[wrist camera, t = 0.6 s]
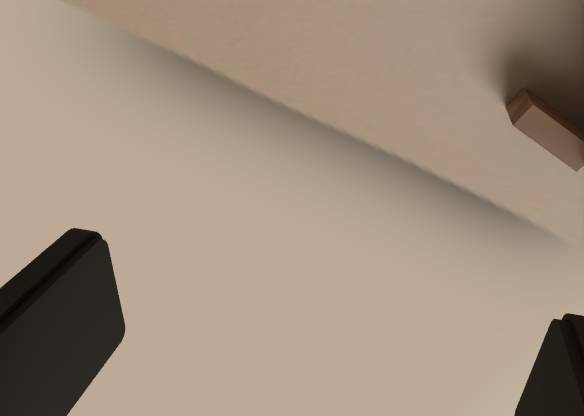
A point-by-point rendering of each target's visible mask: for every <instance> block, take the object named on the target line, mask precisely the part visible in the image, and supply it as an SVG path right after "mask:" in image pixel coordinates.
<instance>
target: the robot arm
mask: <svg viewBox="0 0 584 416" xmlns="http://www.w3.org/2000/svg"><path fill="white" fill-rule="evenodd" d="M124 333H125V323H124V318H123V314H122V309H121V304H120V300H119V295H118V290H117V285H116V281H115V276H114V272H113V266H112V262H111V257H110V252H109V248H108V244H107V242H106V241H105V240H103V239H102V236H101V235H100V234H99V233H97V232H94V231H89V230H82V229H77V228H73V229H70V230H68V231H67V232H66V233H65V234H63V235H62V236H61V237H60V238H59V239H57V240H56V241H55V242H54V243H53V244H52V245H51V246H49V247H48V248H47V249H46V250H45V251H43V252H42V253H41V254H40V255H39V256H38V257H36V258H35V259H34V260H33V261H32V262H31V263H29V264H28V265H27V266H26V267H25V268H24V269H22V270H21V271H20V272H19V273H18V274H16V275H15V276H14V277H13V278H12V279H11V280H9V281H8V282H7V283H6V284H5V285H4V286H2V287H1V288H0V416H67V414H68V413H69V412H70V410H71V409H72V408H73V406H74V405H75V404H76V402H77V401H78V400H79V398H80V397H81V396H82V394H83V393H84V391H85V390H86V389H87V387H88V386H89V385H90V383H91V382H92V381H93V379H94V378H95V377H96V375H97V374H98V372H99V371H100V370H101V368H102V367H103V366H104V364H105V363H106V362H107V360H108V359H109V358H110V356H111V355H112V354H113V352H114V351H115V350H116V348H117V347H118V345H119V344H120V343H121V341H122V339H123V337H124ZM515 416H584V316H581V315H575V314H565V315H564V316H563V318H562V320H558V319H553V320H552V322H551V324H550V326H549V328H548V331H547V333H546V336H545V338H544V341H543V343H542V346H541V348H540V351H539V353H538V356H537V358H536V361H535V363H534V366H533V368H532V371H531V373H530V375H529V378H528V380H527V383H526V386H525V388H524V391H523V393H522V395H521V398H520V401H519V403H518V405H517V408H516V411H515Z"/></svg>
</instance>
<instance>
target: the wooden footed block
mask: <svg viewBox="0 0 584 416" xmlns="http://www.w3.org/2000/svg"><path fill="white" fill-rule="evenodd" d="M506 110H507V112H508V115H509V117H510V120H511V122H512V124H513V126H514V127H516V128H517V129H518V130H520V131H521V132H523V133H524V134H525V135H527V136H528V137H529V138H531V139H532V140H534V141H535V142H536V143H538V144H539V145H541V146H542V147H543V148H545V149H546V150H547V151H549V152H550V153H552V154H553V155H554V156H556V157H557V158H558V159H560V160H561V161H563V162H564V163H565V164H567V165H568V166H569V167H571V168H572V169H574V170H575V171H576V172H577V171H578V170H579V169H580V168H582V167H583V166H584V132H583V131H582V130H580V129H579V128H578V127H576V126H575V125H574V124H572V123H571V122H569V121H568V120H567V119H565V118H564V117H563V116H561V115H560V114H559V113H557V112H556V111H555V110H553V109H552V108H550V107H549V106H548V105H546V104H545V103H544V102H542V101H541V100H540V99H538V98H537V97H536V96H534V95H533V94H531V93H530V92H529V91H527V90H526V89H525V88H523V89H522V90H521V91H520V93H519V94H518V95H517V96H516V97H515V98H514V99H513V100H512V101H511V102H510V103H509V104H508V105H507V106H506Z"/></svg>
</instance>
